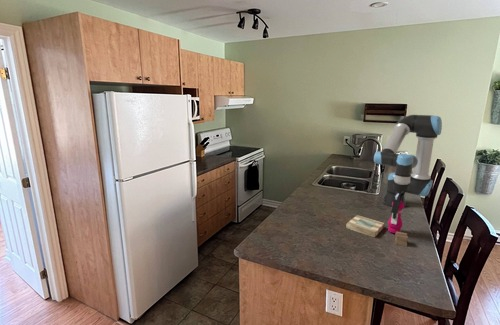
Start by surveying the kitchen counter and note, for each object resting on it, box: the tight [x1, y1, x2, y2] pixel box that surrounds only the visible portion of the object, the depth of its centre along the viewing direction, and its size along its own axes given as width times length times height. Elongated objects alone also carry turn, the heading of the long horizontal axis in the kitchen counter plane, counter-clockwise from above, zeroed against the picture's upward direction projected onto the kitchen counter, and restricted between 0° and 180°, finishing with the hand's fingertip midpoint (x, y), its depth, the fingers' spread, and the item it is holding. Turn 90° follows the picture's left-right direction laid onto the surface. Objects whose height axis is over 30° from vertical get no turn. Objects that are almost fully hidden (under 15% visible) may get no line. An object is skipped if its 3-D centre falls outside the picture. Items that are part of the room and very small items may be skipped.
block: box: [394, 231, 409, 247], centre depth 142 cm, size 5×5×5 cm
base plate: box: [345, 214, 385, 238], centre depth 158 cm, size 16×16×3 cm
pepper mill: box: [387, 201, 405, 235], centre depth 151 cm, size 7×7×20 cm
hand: (395, 221), depth 152 cm, fingers closed on pepper mill, 6 cm apart
